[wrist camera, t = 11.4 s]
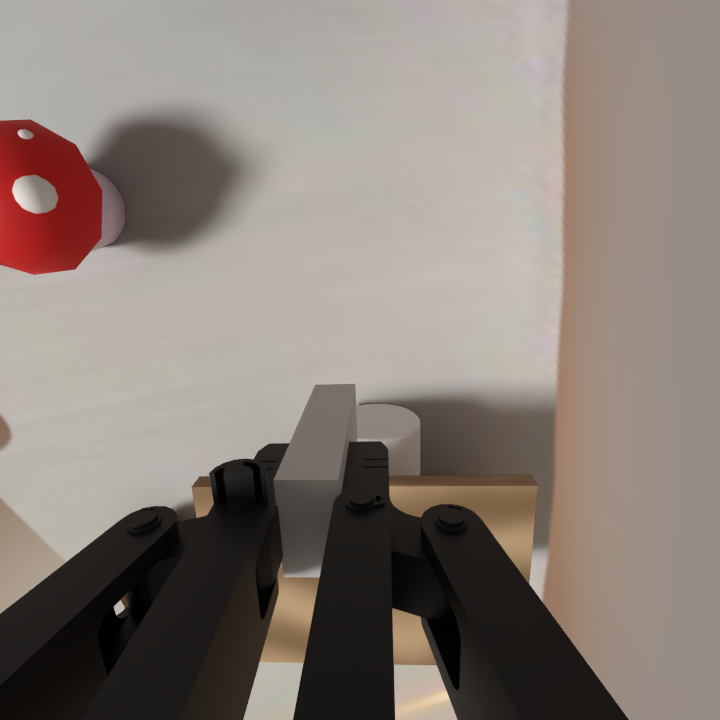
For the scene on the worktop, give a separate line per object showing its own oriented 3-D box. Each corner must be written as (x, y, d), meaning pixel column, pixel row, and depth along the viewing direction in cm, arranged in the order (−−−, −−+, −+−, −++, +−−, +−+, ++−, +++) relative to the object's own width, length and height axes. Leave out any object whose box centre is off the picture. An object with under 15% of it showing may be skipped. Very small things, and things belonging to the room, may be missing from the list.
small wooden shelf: (246, 414, 43) (191, 487, 31) (491, 411, 42) (537, 485, 30) (261, 550, 48) (219, 661, 35) (484, 551, 46) (521, 666, 34)
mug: (416, 402, 42) (424, 439, 34) (416, 492, 45) (424, 545, 37) (293, 404, 43) (274, 441, 35) (301, 493, 46) (285, 545, 38)
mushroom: (29, 256, 40) (-113, 266, 28) (26, 126, 37) (-135, 77, 25) (144, 279, 40) (48, 298, 29) (150, 151, 37) (46, 113, 25)
